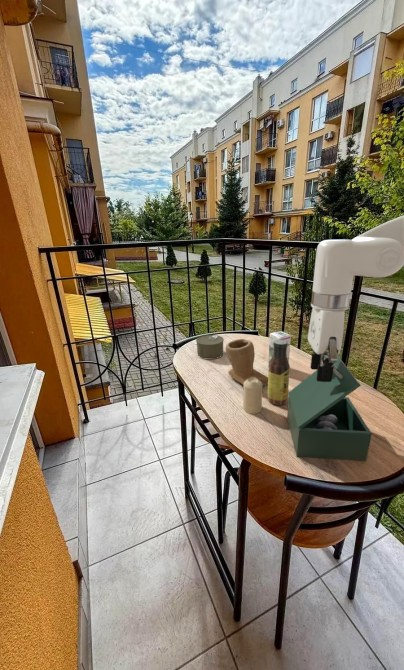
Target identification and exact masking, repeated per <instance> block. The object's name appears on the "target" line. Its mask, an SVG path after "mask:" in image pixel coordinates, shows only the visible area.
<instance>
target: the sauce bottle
mask: <svg viewBox="0 0 404 670" xmlns="http://www.w3.org/2000/svg"><path fill="white" fill-rule="evenodd" d="M273 346H274V353H273V355H274V356H273V357H272V358H271V360H270V362H269V361H268V364H269V367H268V371H267V373H268V374H267V377H268V383H267V401H268V402H269V403H270V404H272V405H275V406H283V405H284V404H286V403H287V401H288V398H289V394H288V393H289V385H290V371H291V370H290V369H291V366H290V362H289V363H288V359H287V356H286V355H287V354H286V351H287V346H288V343H287V341H284V340H275V341H274V343H273Z"/></svg>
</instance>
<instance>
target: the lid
mask: <svg viewBox="0 0 404 670" xmlns="http://www.w3.org/2000/svg"><path fill="white" fill-rule="evenodd" d="M328 357H329V356H327V355H324V360H325V359H326V358H328ZM316 378H317V370H315V371H314V372H312V373H310V375H309V376H307V377H306V378H305V379H303V380H302V381H301V382H299V384H297V385H296V386H295V387H294V388H292V389H291V390H290V391H288V398H289V397H290V401H291V404H292V408H293V411H294V415H295V418H296V421H297V425H298V427H299V428H300V429H301V428H303V427H304V426H306V425H307V424H308V423H310V422H311V421H313V420H314V419H315V418H317V417H318V416H319V415H321V414H322V413H324V412H325V411H326V410H328V409H329V408H331V407H332V406H333V405H335V404H336V403H337V402H339V401H340V400H342V399H343V398H344V397H347V396H348V395H350V394H351V393H353V392H354V391H355V390H357V389H358V388H360V387H361V384H360V382H359V381H358V380H357V378H356V377H355V375H354V374H353V373H352V372H351V370H350V369H349V368H348V367H347V366H346V364H345V363H344V362H343V360H342V359H341V358H340V356H339V354H338V355H337V361H336V362H335V364H334V368H333V375H332V381H331V382H320V381H317V379H316Z"/></svg>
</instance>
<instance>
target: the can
mask: <svg viewBox="0 0 404 670" xmlns="http://www.w3.org/2000/svg"><path fill="white" fill-rule="evenodd" d="M195 342H196V355H197V354H198V355H197V356H198V357H199V356H200V357H202V358H201V359H203V358H216V359H218V358H217V357H219V358H221V357H223V356H224V337H223V336H221V335H217V334H204V335H200V336H198V337H197V338H196V339H195ZM220 356H221V357H220ZM200 357H199V358H200Z"/></svg>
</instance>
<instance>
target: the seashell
mask: <svg viewBox="0 0 404 670" xmlns="http://www.w3.org/2000/svg"><path fill="white" fill-rule="evenodd" d="M337 420H338V418H336V416H335V415H326V416H321V417H319V418H318V419H316V424H317V425H316V428H315V429H332V430H337V427H336V426H335V425H334V424H335V423H337Z"/></svg>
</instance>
